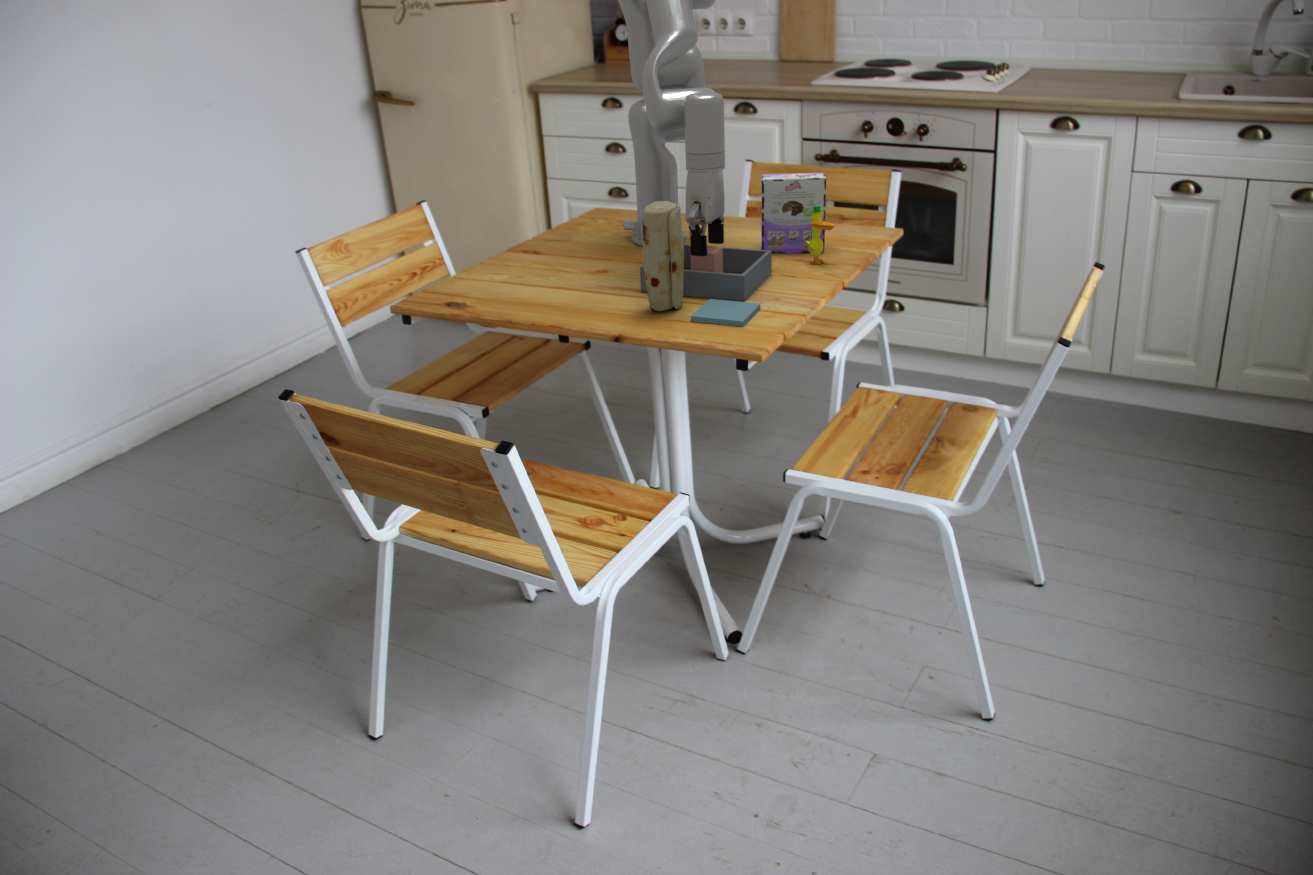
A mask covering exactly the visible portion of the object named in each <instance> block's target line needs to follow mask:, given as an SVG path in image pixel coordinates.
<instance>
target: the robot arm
mask: <svg viewBox="0 0 1313 875" xmlns="http://www.w3.org/2000/svg"><path fill="white" fill-rule="evenodd" d="M617 1H618V4H619V6H620V9H621V11H622V15H623V17H624V21H625V24H626V25H625V26H626V31H627V42H628V44H627V45H628V54H629V55H628V56H629V65H630V74H631V79H632V82H633V83H632V84H633V86H635V88H636V89H638V90H640V91H642V94H643V99H639V100H637V101H635V102H633V103H632V105H631V106H630V108H629V110H628V114H627V119H628V120H627V121H628V126H629V130H630V131H629V132H630V137H631V142H632V147H633V155H634V170H635V171H634V172H635V173H634V174H635V189H636V190H635V191H636V192H635V193H636V212H637V215H636V216H637V219H636V220H632V219H631V220H630V219H624V220H623V223H622V226H623V230H624V231H632V232H634V233H633V234H632V236H631V242H632V243H634V244H635V245H638V246H642V247H643V213H644V210H645V208H646V206H648V205H649V204H651V203H653V202H657V201H669V202H671V203H676V204H679V184H678V182H679V181H678V178H679V177H678V163H677V159H676V158H675V155H674V154H673V153H672V152H671V151H670V150H669V149H668V148H667V145H666V143H671V142H677V141H684V145H685V146H684V148H685V150H684V151H685V152H684V153H685V170H686V171H687V173H686V180H685V181H686V183H685V222H686V223H688V229H689V241H690V243H689V245H691V255H692V256H706V255H707V246H708V243H709V244H712V245H714V244H715V245H722V244H724V243H725V233H724V232H725V228H724V227H725V226H724V225H725V224H724V223H725V217H724V214H725V187H724V186H725V185H724V174H723V171H724V170H725V169H726V150H725V149H726V146H725V143H726V142H725V135H726V134H725V100H724V97H723V96H722V94H720V93H719V92H716V91H715V90H714V89H712V88H709V87H706V79H705V78H706V77H705V67H704V66H705V65H704V61H703V56H702V53H701V50H700V49H699V47H698V46H697V43H698V40H699V34H698V30H697V26H696V21H695V16H694V14H693V10H694V11H695V10H706V9H709V8H711V7H712V6H713V5H714V3H715V2H716V0H617ZM706 230H707V235H706ZM682 235H683V242H685V241H686V239H687V235H686V232H684V231H683V230H682ZM707 239H708V240H707ZM707 241H708V242H707Z"/></svg>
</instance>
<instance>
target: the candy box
mask: <svg viewBox="0 0 1313 875" xmlns="http://www.w3.org/2000/svg"><path fill="white" fill-rule="evenodd" d="M760 183H761V184H760V186H761V188H760V189H761V190H760V191H761V197H760V198H761V225H760V226H761V230H760V231H761V237H760V238H761V240H760V242H761V243H760V250H770V251H772V253H783V254H811V253H810V252H809V247H808V244H807V242H806V241H809V242H810V241H811V240H812V238H813V235H812V226H810V225H809V224H810V223H812V213H813V212H812V211H814V210H813V206H820V210H822V221H824V222H826V202H827V201H826V197H827V195H826V194H827V176H826V174H825V172H805V173H804V172H803V173H802V172H801V173H794V172H793V173H768V174H766V173H765V174H763V173H762V174H761V182H760ZM825 232H826V230H823V229H821V233H820V239H821V240H822V241H823V251H822V252H821V253H825V243H826V242H825V239H826V238H825V236H826V233H825ZM807 252H808V253H807Z"/></svg>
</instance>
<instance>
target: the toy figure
mask: <svg viewBox="0 0 1313 875" xmlns="http://www.w3.org/2000/svg"><path fill="white" fill-rule="evenodd" d="M813 210H814V211H812V212H813V213H812V223H810V224H809V225H810V226H812V235H813V238H812V240H811V241H810V242H809V241H806V242H807V244H808V247H809V252H810V253H809V254H810V255H811V256H812V257H813V260H812V261H811V264H815V265H822V264H824V262H825V261H824V260H823V259H822V258H819V257H820V255H821V254H822V253H823V252H822V251H823V241H822V240H821V239H820V233H821V229H823V230H825V231H832V230H833V229H834V228H835V226H836V225H835V224H834V223H833V222H828V221H825V222H824V221H822V210H820V206H813Z"/></svg>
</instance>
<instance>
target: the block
mask: <svg viewBox="0 0 1313 875" xmlns="http://www.w3.org/2000/svg"><path fill="white" fill-rule="evenodd" d="M723 247H724V246H716V245H707V255H706V256H692V255H691V269H690V270H695V271H707V272H718V273H724V272H723Z"/></svg>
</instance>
